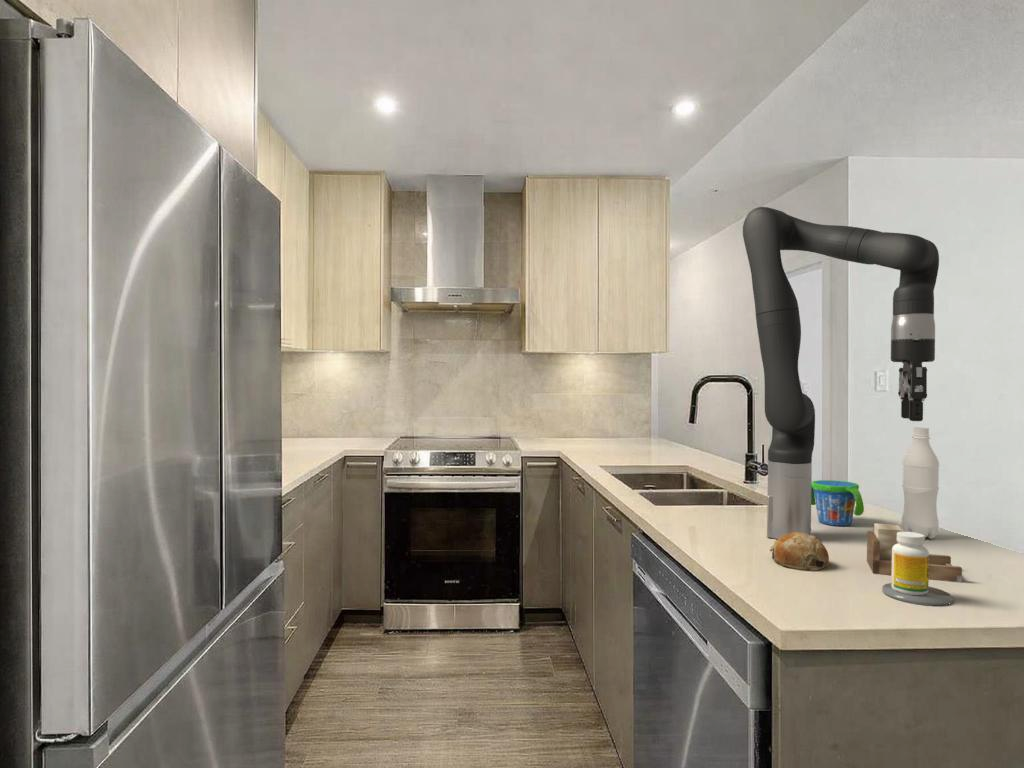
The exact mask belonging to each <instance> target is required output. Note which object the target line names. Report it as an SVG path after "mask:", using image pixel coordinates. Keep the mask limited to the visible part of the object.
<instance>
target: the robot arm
mask: <svg viewBox="0 0 1024 768" xmlns="http://www.w3.org/2000/svg"><path fill="white" fill-rule="evenodd" d="M742 224H743V225H742V237H743V242H744V247H745V252H746V256H747V260H748V264H749V269H750V274H751V285H752V292H753V300H754V308H755V310H754V311H755V312H754V313H755V321H756V330H757V337H758V342H759V343H758V344H759V349H760V350H759V351H760V356H761V362H762V367H763V376H764V377H763V378H764V414H765V418H766V420H767V422H768V423H769V425H770V426H771V428H772V431H771V432H772V436H771V442H770V444H769V447H768V451H767V498H766V499H767V503H766V504H767V505H766V507H767V509H766V510H767V511H766V512H767V513H766V514H767V515H766V517H767V518H766V519H767V520H766V537H767V538H772V539H775V540H778V539H779V538H780V537H782V536H784V535H786V534H789V533H793V532H801V533H805V534H808V535H810V536H811V535H812V505H811V484H812V482H813V481H812V475H813V474H812V473H813V472H812V470H813V469H812V468H813V465H812V462H813V459H812V458H813V452H814V447H815V431H816V409H815V405H814V403H813V400H812V399H811V398H810V397H809V396H808V395H807V394H805V393H803V390H802V385H801V381H800V373H799V357H800V349H801V340H802V325H801V316H800V310H799V303H798V299H797V297H796V294H795V292H794V290H793V287H792V285H791V282H790V281H789V278H788V276H787V275H786V272H785V270H784V269H785V268H784V267H783V262H782V255H781V254H782V253H781V251H800V252H810V253H815V254H818V255H819V254H820V255H823V256H827V257H830V258H834V259H837V260H842V261H848V262H851V263H857V264H861V265H862V264H863V265H877V266H881V267H886V268H889V269H893V270H897V271H900V272H899V273H900V275H899V283H898V286H897V288H896V289H895V290H894V291H893V297H892V321H891V324H890V325H891V326H890V327H891V328H890V361H891V362H893V363H902V367H899V369H898V394H897V395H898V397H899V399H900V402H901V403H900V405H901V406H900V407H901V408H900V416H901V418H902V419H907V420H909V421H911V422H922V421H923V420H924V419H923V418H924V402H925V401H926V399H927V397H928V393H927V391H928V390H927V389H928V388H927V386H928V385H927V384H928V383H927V382H928V381H927V378H928V377H927V375H928V374H927V373H928V368H927V366H923V363H933V362H934V361H935V357H936V321H935V315H934V314H935V296H934V295H935V293H934V292H935V287H936V283H937V278H938V273H939V267H940V254H939V250H938V247H937V246H936V244H935V243H934V242H933V241H930V240H929V239H926V238H924V237H922V236H919V235H917V234H916V235H915V234H912V233H910V234H909V233H902V232H901V233H900V232H887V231H885V232H884V231H879V230H876V229H869V228H863V227H857V226H847V225H839V224H838V225H837V224H836V225H833V224H832V225H831V224H821V223H820V224H819V223H814V222H810V221H807V220H803V219H800V218H798V217H794V216H792V215H789V214H787V213H786V212H784V211H782V210H779V209H775V208H772V207H768V206H758V207H756V208H753V209H752V210H750V211H749V212H748V214H747V215H746V217H745V218H744V221H743V223H742Z"/></svg>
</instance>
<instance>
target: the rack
mask: <svg viewBox="0 0 1024 768" xmlns="http://www.w3.org/2000/svg"><path fill="white" fill-rule="evenodd" d="M873 525H874V527H873V528H874V531H873V530H867V531H866V534H867V535H866V562H867V564H868V566H869V568H870V570H871V572H872V574H876V575H884V576H885V575H886V576H891V571H892V547H893V546H894V545H895V544H898V542H897V533H898V532H904V531H903V528H901V527H900V526H899V525H898V524H889V523H888V524H887V523H874V524H873ZM951 558H952V556H950V555H945V554H933V553H929V580H934V579H936V580H935V581H944V580H948V581H947V582H954V581H956V582H955V583H963V567H961V566H953V565H952V564H951V563H952V559H951ZM937 579H939V580H937Z"/></svg>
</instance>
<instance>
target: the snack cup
mask: <svg viewBox="0 0 1024 768" xmlns="http://www.w3.org/2000/svg"><path fill="white" fill-rule="evenodd" d="M859 489H860V486H859V484H858V483H856V482H852V481H845V480H833V479H822V480H821V479H818V480H813V481H812V482H811V506H815V508H816V514H817V519H818V523H821V524H824V525H828V524H829V526H834V525H835V526H836V527H837V526H838V527H842V526H843V527H847V526H849V525H851V524H852V522H853V518H854V517H853V516H854V515H855V516H857V517H858V516H862V515H863V513H864V512H865V511H864V510H865V505H864V502H863V497H862V494H861V492H860V490H859Z"/></svg>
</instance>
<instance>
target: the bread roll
mask: <svg viewBox="0 0 1024 768" xmlns="http://www.w3.org/2000/svg"><path fill="white" fill-rule="evenodd" d="M769 552H771V553H772V554H771V559H772V560H773V561H774V563H775V564H777V565H779V566H780V565H781V567H783V568H789V569H793V570H797V569H798V571H799V570H800V571H810V572H815V571H820V570H822V569H824V568H826V567H828V565H829V561H830V555H829V552H828V550H827V548H826V546H825V545H824V544H823V543H822V542H821V541H820V540H819V539H818V538H817V537H816V536H815V535H812V534H811V536H810V535H808V534H805V533H801V532H793V533H789V534H786V535H784V536H782V537H780V538H779V539H775V541H774V544H773V545H772V546H770V548H769Z"/></svg>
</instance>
